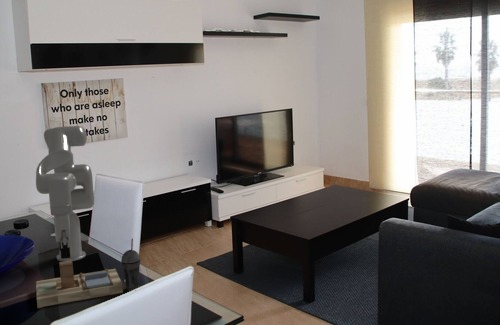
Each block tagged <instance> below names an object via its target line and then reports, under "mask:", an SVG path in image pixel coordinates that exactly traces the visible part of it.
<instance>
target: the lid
mask: <svg viewBox="0 0 500 325" xmlns="http://www.w3.org/2000/svg"><path fill="white" fill-rule="evenodd" d="M103 271H104V272H98V271H97V272H98V273H92V272H91V273H92V274H86V273H85V274H86V275H85V283H86V287H87V288H93V287H99V286H105V285H110V280H109V278H108V275H107V272H106V271H105V270H103Z"/></svg>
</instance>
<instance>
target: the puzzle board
mask: <svg viewBox="0 0 500 325" xmlns="http://www.w3.org/2000/svg"><path fill="white" fill-rule="evenodd" d="M104 271H106V272H107V275H108V278H109V280H110V285H105V286H99V287H93V288H87V287H86V283H85V275H86V274H92V273H98V272H104ZM35 284H36V286H35V287H36V303H37V304H36V305H37V309H41V308H43V307H48V306H55V305H61V304H66V303H71V302H77V301H83V300H88V299H93V298H100V297H105V296H106V297H107V296H110V295H111V296H112V295H116V294H122V293H123V292H124V288H123V283H122V280H121V278H120V276H119V273H118V272H117V269H116V268H113V269H108V268H105V269H104V270H99V271H92V272H87V273H83V272H80V273H79V274H74V286H75V287H74V288H68V289H62V287H61V277H55V278H49V279H44V280H43V279H42V280H37V281H35Z"/></svg>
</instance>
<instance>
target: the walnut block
mask: <svg viewBox="0 0 500 325" xmlns="http://www.w3.org/2000/svg"><path fill="white" fill-rule="evenodd" d="M58 264H59V273H60V274H59V275H60V278H61V287H62V289H68V288H74V287H75V286H74V275H75V274H74V265H73V264H74V263H73V261H72V260H71V261H65V262H64V261H59V263H58Z"/></svg>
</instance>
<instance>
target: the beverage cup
mask: <svg viewBox="0 0 500 325" xmlns="http://www.w3.org/2000/svg"><path fill="white" fill-rule="evenodd" d="M130 245H131V246H130V249H129V250H126V251H124V253H123V254H122V256H121V260H120V262H121V266H122V269H123V274H124V275H123V276H124V282H125V288H126V291H128V292H132V291H131V290H133V289H135V288H138V287H139V288H140V265H141V257H140V255H139V253H138V251H136V250H133V247H134V246H133V245H134V238H133V237H131V244H130Z"/></svg>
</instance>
